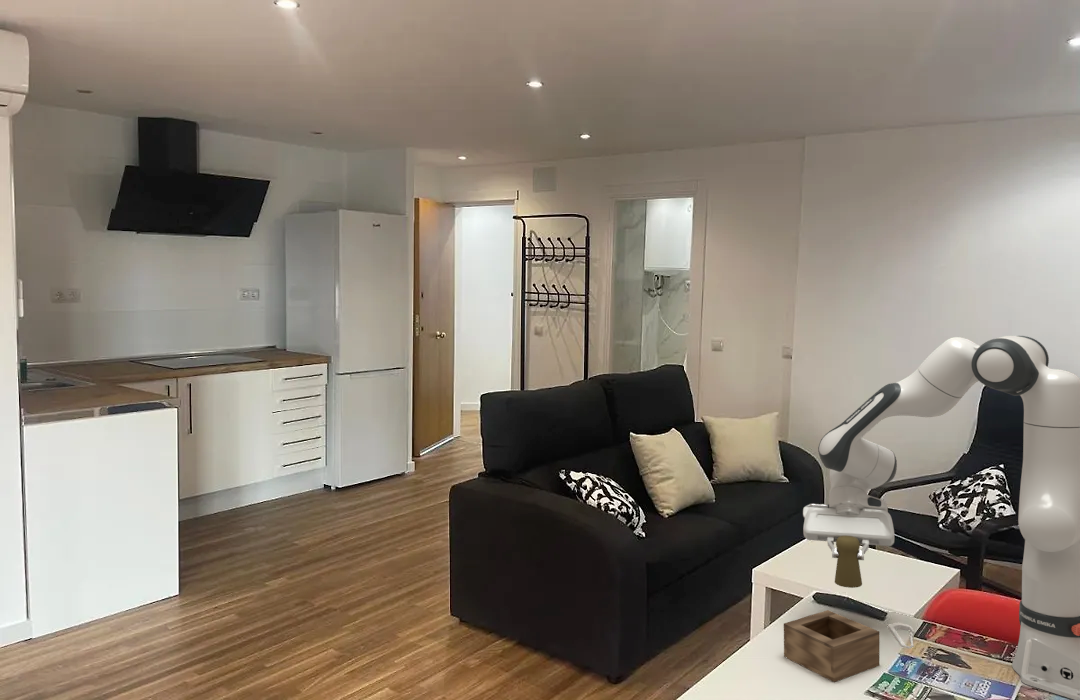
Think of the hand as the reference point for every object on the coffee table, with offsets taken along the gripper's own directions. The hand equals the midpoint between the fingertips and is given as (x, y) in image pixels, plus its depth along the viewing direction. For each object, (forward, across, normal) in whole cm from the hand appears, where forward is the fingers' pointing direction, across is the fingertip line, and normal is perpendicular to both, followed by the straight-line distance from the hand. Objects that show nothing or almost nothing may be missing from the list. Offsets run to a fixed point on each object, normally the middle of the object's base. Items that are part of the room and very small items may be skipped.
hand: (847, 558), depth 185 cm
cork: (+4, 0, +5) cm, 6 cm away
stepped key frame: (+11, +12, +18) cm, 24 cm away
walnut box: (+23, -4, +4) cm, 24 cm away
